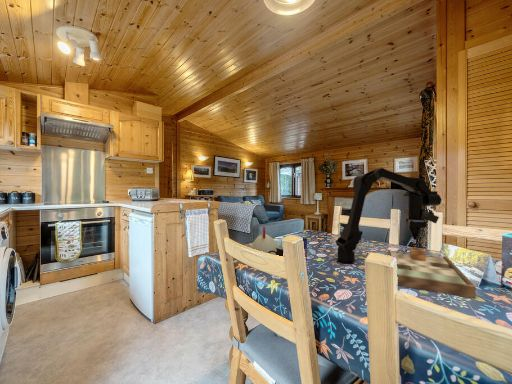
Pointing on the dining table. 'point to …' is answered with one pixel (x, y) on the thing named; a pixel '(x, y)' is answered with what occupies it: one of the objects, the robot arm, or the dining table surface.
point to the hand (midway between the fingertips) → (415, 239)
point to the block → (417, 254)
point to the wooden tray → (433, 275)
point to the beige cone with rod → (264, 243)
